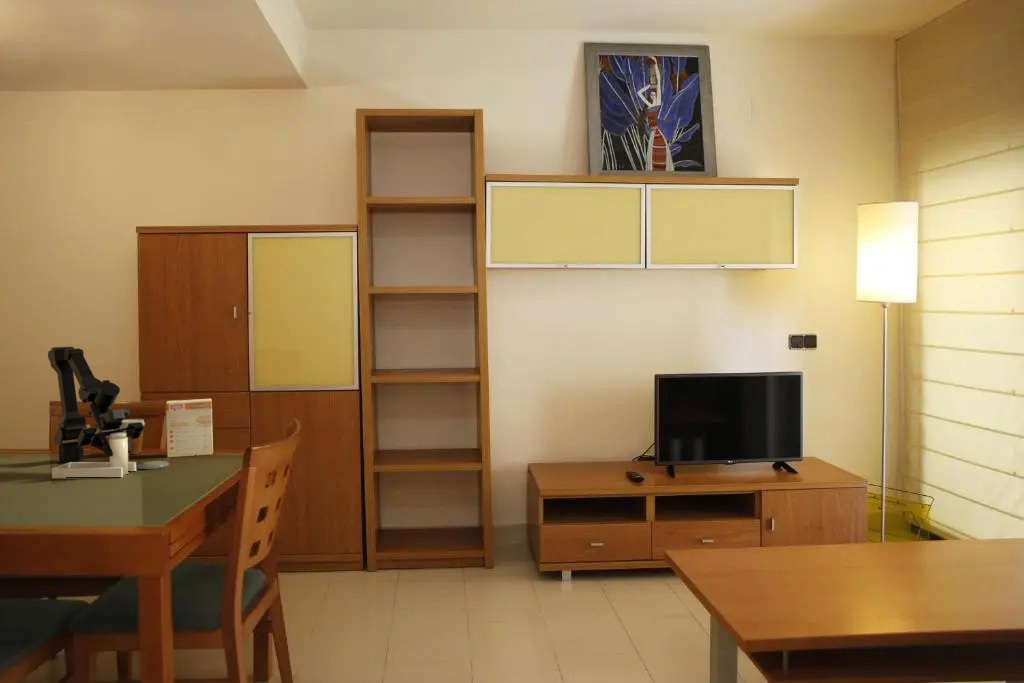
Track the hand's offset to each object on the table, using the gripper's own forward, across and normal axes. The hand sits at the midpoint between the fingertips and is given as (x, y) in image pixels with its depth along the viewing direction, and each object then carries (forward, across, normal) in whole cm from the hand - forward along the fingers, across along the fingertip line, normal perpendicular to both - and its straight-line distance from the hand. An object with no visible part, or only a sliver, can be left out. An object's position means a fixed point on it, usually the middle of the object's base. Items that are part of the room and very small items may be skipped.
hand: (120, 454), depth 249 cm
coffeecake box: (-6, +32, +16) cm, 36 cm away
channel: (0, -4, +10) cm, 10 cm away
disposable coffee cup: (-19, +20, +29) cm, 40 cm away
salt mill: (+4, 0, +6) cm, 7 cm away
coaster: (+1, +12, +8) cm, 15 cm away
